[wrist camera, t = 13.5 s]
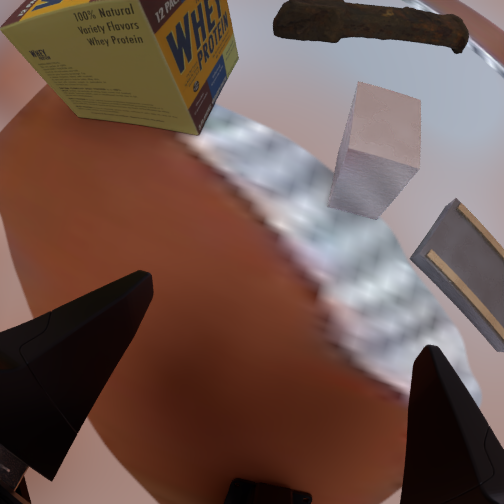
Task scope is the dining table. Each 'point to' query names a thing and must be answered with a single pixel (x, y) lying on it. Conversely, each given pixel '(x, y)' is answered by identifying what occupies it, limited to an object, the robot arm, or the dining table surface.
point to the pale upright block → (376, 151)
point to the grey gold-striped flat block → (466, 269)
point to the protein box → (130, 57)
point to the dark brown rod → (367, 23)
